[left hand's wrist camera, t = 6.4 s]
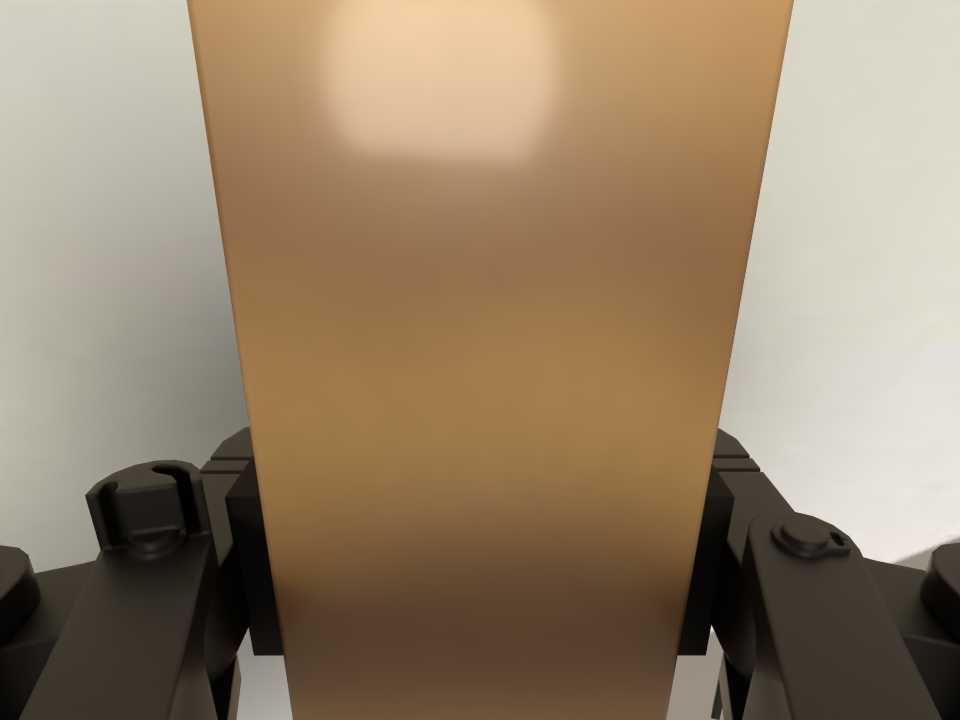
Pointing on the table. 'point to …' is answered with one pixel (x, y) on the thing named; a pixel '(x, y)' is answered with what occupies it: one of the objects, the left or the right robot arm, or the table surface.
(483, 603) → the bar
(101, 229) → the table surface
